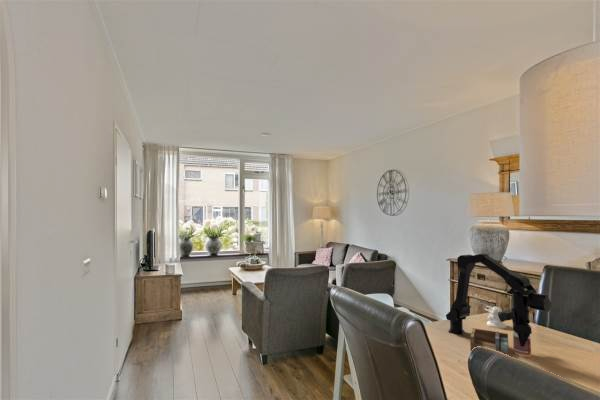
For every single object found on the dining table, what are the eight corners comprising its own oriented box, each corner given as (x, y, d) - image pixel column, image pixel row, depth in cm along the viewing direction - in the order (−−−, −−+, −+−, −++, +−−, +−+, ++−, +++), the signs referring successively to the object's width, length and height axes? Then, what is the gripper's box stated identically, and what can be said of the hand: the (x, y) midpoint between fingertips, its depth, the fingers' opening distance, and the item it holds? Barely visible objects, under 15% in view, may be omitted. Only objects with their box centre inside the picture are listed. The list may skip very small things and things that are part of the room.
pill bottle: (534, 358, 135) (533, 330, 136) (517, 356, 137) (516, 329, 137) (527, 352, 141) (526, 326, 142) (511, 350, 143) (510, 325, 143)
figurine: (512, 326, 174) (511, 306, 174) (504, 330, 168) (503, 309, 169) (488, 320, 183) (488, 301, 184) (480, 324, 178) (479, 304, 179)
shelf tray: (472, 340, 155) (472, 327, 155) (508, 346, 147) (507, 332, 148) (470, 350, 144) (470, 335, 144) (508, 357, 136) (508, 342, 137)
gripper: (498, 298, 152) (499, 333, 152) (498, 308, 136) (499, 346, 136) (527, 302, 146) (529, 337, 146) (530, 312, 131) (532, 352, 130)
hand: (521, 343), depth 139 cm, fingers open, 7 cm apart
